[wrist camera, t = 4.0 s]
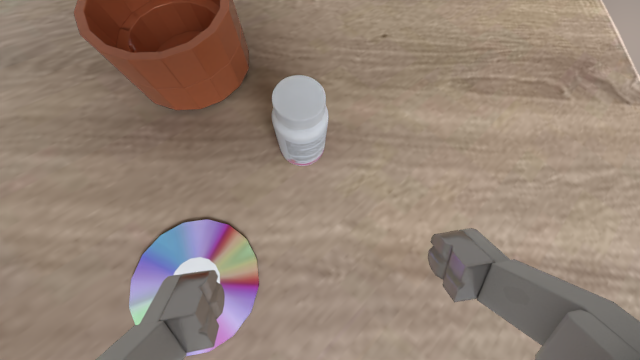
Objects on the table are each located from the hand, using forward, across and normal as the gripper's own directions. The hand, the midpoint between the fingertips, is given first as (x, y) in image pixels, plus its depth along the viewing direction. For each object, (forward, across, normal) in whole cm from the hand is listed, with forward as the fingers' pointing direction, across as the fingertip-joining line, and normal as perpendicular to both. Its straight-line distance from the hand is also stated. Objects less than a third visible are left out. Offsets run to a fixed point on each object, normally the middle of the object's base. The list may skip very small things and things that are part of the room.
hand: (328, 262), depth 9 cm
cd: (+9, +11, +10) cm, 18 cm away
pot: (+26, +11, -7) cm, 29 cm away
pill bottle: (+18, 0, +2) cm, 18 cm away
